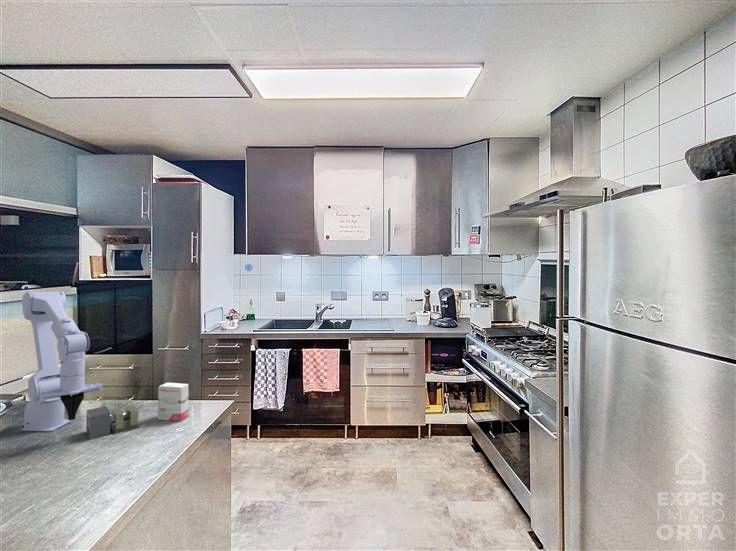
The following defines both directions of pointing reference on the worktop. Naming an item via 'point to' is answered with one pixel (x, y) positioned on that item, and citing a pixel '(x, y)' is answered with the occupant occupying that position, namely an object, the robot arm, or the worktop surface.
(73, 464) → the worktop surface
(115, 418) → the shaft rig
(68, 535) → the worktop surface
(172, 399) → the ink box
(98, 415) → the grey housing block
